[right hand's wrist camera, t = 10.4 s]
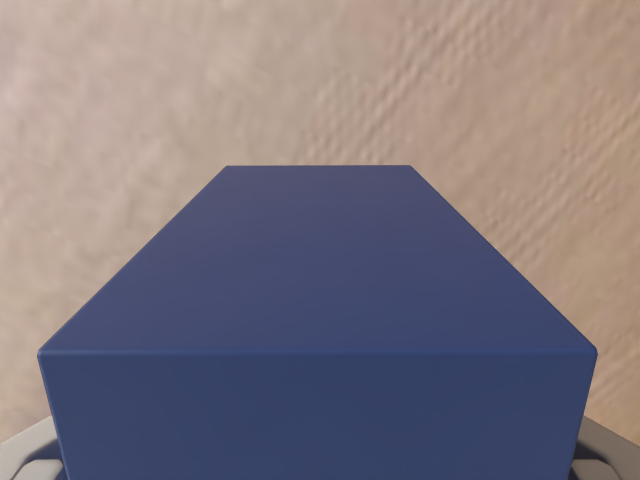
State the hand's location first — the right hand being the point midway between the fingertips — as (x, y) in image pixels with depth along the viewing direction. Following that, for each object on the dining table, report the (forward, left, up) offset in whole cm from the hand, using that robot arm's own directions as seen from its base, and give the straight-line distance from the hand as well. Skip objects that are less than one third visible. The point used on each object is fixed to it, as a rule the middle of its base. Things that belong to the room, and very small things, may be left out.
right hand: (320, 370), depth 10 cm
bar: (+8, +1, -4) cm, 9 cm away
